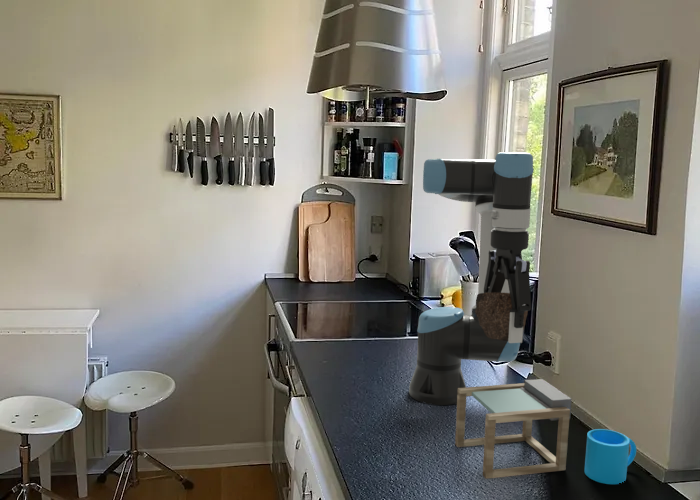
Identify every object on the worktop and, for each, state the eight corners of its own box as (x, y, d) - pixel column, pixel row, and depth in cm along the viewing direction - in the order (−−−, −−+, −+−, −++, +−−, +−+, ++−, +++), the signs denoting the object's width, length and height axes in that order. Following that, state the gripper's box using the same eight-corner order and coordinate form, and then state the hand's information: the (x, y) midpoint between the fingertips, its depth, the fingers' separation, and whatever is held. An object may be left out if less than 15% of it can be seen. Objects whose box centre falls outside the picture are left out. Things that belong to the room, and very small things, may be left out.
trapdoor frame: (455, 444, 154) (457, 388, 152) (527, 437, 158) (531, 382, 156) (485, 478, 139) (489, 416, 137) (565, 470, 143) (570, 409, 141)
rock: (516, 306, 151) (545, 289, 143) (521, 351, 146) (551, 335, 138) (467, 297, 146) (495, 278, 138) (471, 342, 142) (500, 326, 134)
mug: (604, 487, 136) (607, 449, 135) (575, 469, 144) (578, 432, 142) (649, 476, 141) (652, 439, 140) (619, 459, 149) (622, 423, 147)
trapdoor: (471, 403, 151) (472, 384, 150) (541, 397, 155) (542, 379, 154) (495, 425, 140) (496, 405, 139) (570, 418, 144) (571, 398, 143)
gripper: (471, 222, 150) (466, 322, 153) (518, 236, 128) (511, 352, 132) (502, 222, 151) (497, 320, 155) (555, 236, 130) (547, 350, 134)
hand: (503, 335), depth 144 cm, fingers closed on rock, 9 cm apart
